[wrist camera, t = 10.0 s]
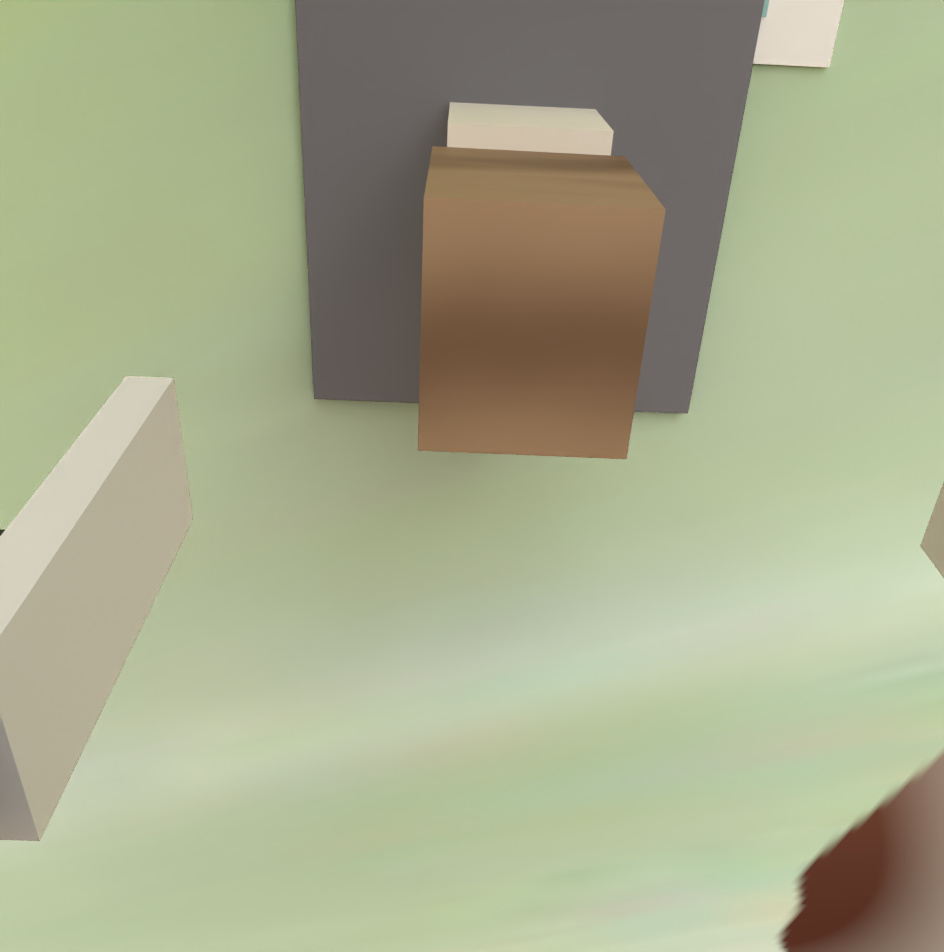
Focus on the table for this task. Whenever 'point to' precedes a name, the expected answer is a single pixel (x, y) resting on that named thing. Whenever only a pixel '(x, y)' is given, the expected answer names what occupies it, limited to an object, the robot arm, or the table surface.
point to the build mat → (520, 61)
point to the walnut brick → (534, 301)
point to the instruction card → (798, 32)
